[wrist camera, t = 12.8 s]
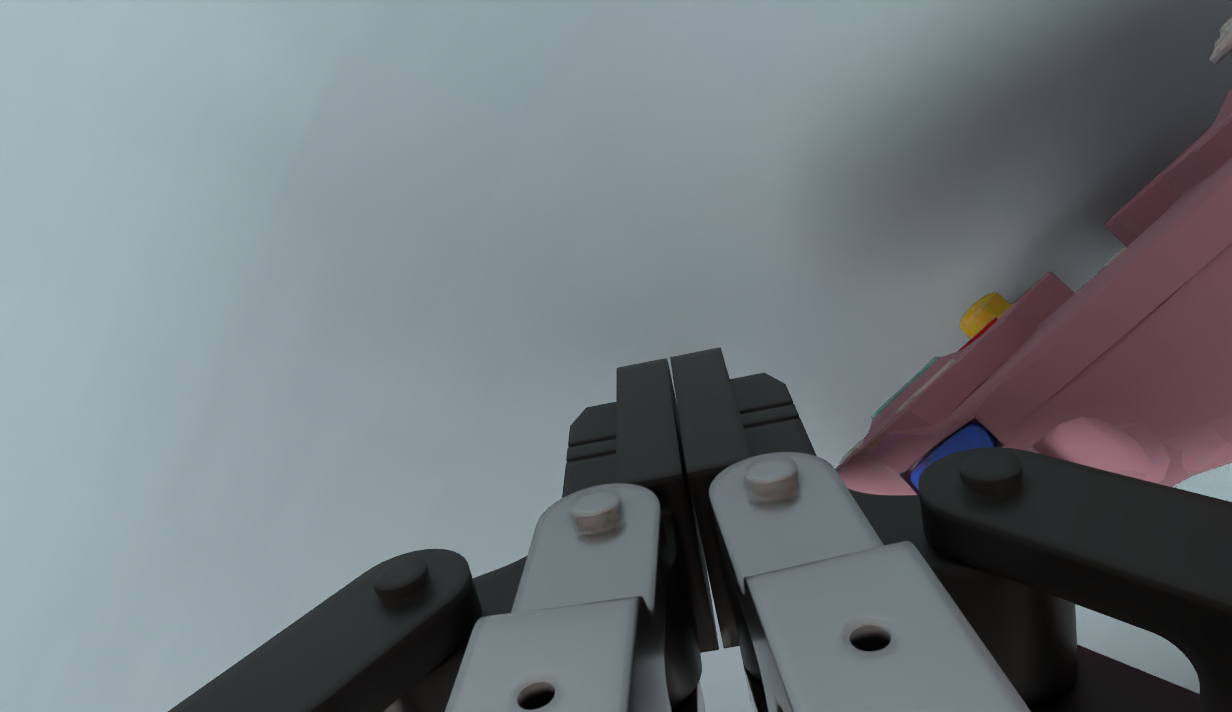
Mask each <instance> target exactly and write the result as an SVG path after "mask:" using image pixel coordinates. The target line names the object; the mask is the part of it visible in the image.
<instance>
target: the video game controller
mask: <svg viewBox="0 0 1232 712" xmlns="http://www.w3.org/2000/svg"><path fill="white" fill-rule="evenodd" d="M1220 34H1221V35H1220V38H1219V39H1218V40H1217V41H1216V42H1215V49H1214V51H1213V53H1212V55H1211V57H1210V59H1209V60H1210V61H1212V62H1213V63H1215V64H1217V63H1218V62H1219V61H1220V60H1222V59H1223V58H1224V57H1225V56H1226V55H1227V54H1228V53H1230V52H1231V51H1232V17H1231V18H1230V19H1229V20H1228V21H1227V22H1226V23H1225V24H1224V25H1223V26H1222V27H1221V29H1220ZM1106 228H1107V229H1108V230H1110V231H1111V232H1112V233H1113V234H1114V235H1115V236H1116V237H1117V238H1118V239H1119V240H1120V241H1122V242H1123V243H1124V244H1125V245H1126V246H1127V247H1124V248H1123V249H1122V250H1121V251H1119V252H1118V253H1117V254H1116V255H1115V256H1113V257H1112V258H1111V259H1110V260H1109V261H1108V262H1107V263H1106V264H1105V265H1104V266H1103V269H1102V270H1101V271H1100V272H1099V273H1097V274H1096V275H1095V276H1094V277H1093V278H1092V279H1091V280H1090V281H1089V282H1087V283H1086V284H1085V285H1084V286H1083V287H1082V288H1081V289H1080V290H1078V291H1077V292H1076V293H1074V292H1073V291H1072V290H1071V289H1070V288H1069V287H1068V286H1067V285H1066V284H1064V283H1063V282H1062V281H1061V280H1060V279H1059V278H1058V277H1057V276H1056V275H1055V274H1053V273H1052V272H1049V273H1047V274H1046V275H1045V276H1044V277H1042V278H1041V279H1040V280H1039V281H1038V282H1037V283H1036V284H1034V285H1033V286H1032V287H1031V288H1030V289H1029V290H1028V291H1027V292H1025V293H1024V294H1023V295H1022V296H1021V297H1020V298H1019V299H1018V300H1017V301H1015V302H1014V303H1013V304H1011V305H1010V304H1009V303H1008V302H1007V301H1006V300H1005V299H1004V298H1003V297H1002V296H1001V295H999V294H998V293H990V294H988V295H986V296H984V297H982V298H981V299H980V300H978V301H977V302H976V303H974V304H973V305H972V306H971V307H970V308H969V309H968V311H967V312H966V313H965V314H964V316H963V317H962V320H961V322H960V328H961V329H962V330H963V331H964V332H965V333H966V334H967V335H968V336H969V337H970V338H971V340H970V341H969V342H967V343H966V344H965V345H964V346H963V347H962V348H961V349H960V350H959V351H958V352H955V353H952V354H950V355H947V356H944V357H941V358H940V357H935V358H934V359H933V360H932V361H931V362H929V363H928V364H927V365H926V366H925V367H924V368H923V369H922V370H921V371H920V372H919V373H917V374H916V375H915V376H914V377H913V378H912V379H911V380H910V381H909V382H908V383H907V384H906V385H904V386H903V387H902V388H901V389H900V390H899V391H898V392H897V393H896V394H895V395H894V396H893V397H891V398H890V399H889V400H888V401H887V402H886V403H885V404H884V405H883V406H882V407H881V408H879V409H878V410H877V411H876V412H875V413H874V414H873V416H872V420H873V421H872V424H871V427H870V430H869V433H868V434H867V435H866V437H865V438H864V439H863V440H861V441H860V442H859V443H858V444H856V445H855V446H854V447H853V448H852V449H851V450H850V451H849V452H848V453H847V454H846V455H844V457H843V458H842V460H841V461H840V462H839V464H840V465H839V466H838V467H837V468H836V469H835V470H836V471H837V473H838V474H839V476H840V477H841V479H842V481H843V482H844V484H845V485H846V487H847V488H848V489H851V490H854V491H858V492H863V493H868V494H876V495H919V487H918V484H919V478H920V475H921V474H922V472H923V471H924V470H925V469H926V468H927V467H928V466H929V465H930V464H932V463H933V462H935V461H936V460H938V459H940V458H942V457H945V456H947V455H950V454H953V453H956V452H960V451H965V450H969V449H977V448H990V447H999V448H1013V449H1020V450H1025V451H1030V452H1034V453H1038V454H1042V455H1046V456H1050V457H1054V458H1058V459H1062V460H1066V461H1070V462H1074V463H1078V464H1082V465H1086V466H1090V467H1094V468H1097V469H1101V470H1105V471H1109V472H1113V473H1117V474H1121V475H1125V476H1129V477H1133V478H1137V479H1141V480H1145V481H1149V482H1153V483H1157V484H1161V485H1165V486H1169V487H1172V486H1174V485H1176V484H1178V483H1180V482H1181V481H1183V480H1185V479H1187V478H1189V477H1190V476H1193V475H1196V474H1199V473H1202V472H1205V471H1208V470H1211V469H1214V468H1217V467H1220V466H1223V465H1226V464H1229V463H1232V89H1231V90H1230V91H1229V92H1228V93H1227V94H1226V98H1225V100H1224V102H1223V104H1222V106H1221V108H1220V111H1219V113H1218V115H1217V117H1216V119H1215V121H1214V123H1213V125H1212V126H1211V127H1210V128H1209V129H1208V130H1207V131H1205V132H1204V133H1203V134H1202V135H1201V136H1200V137H1199V138H1198V139H1197V140H1196V141H1194V142H1193V143H1192V144H1191V145H1190V146H1189V147H1188V148H1187V149H1186V150H1185V151H1183V152H1182V153H1181V154H1180V155H1179V156H1178V157H1177V158H1176V159H1175V160H1174V161H1172V162H1171V163H1170V164H1169V165H1168V166H1167V167H1166V168H1165V169H1164V170H1163V171H1161V172H1160V173H1159V174H1158V175H1157V176H1156V177H1155V178H1154V179H1153V180H1152V181H1150V182H1149V183H1148V184H1147V185H1146V186H1145V187H1144V188H1143V189H1142V190H1141V191H1139V192H1138V193H1137V194H1136V195H1135V196H1134V197H1133V198H1132V199H1131V200H1130V201H1128V202H1127V203H1126V204H1125V205H1124V206H1123V207H1122V208H1121V209H1120V210H1119V211H1118V212H1117V213H1116V214H1115V215H1114V216H1113V217H1112V218H1111V219H1110V220H1108V221H1107V223H1106Z"/></svg>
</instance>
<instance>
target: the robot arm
mask: <svg viewBox="0 0 1232 712" xmlns="http://www.w3.org/2000/svg"><path fill="white" fill-rule="evenodd" d="M670 359H671V366H672V373H673V380H674V387H675V393H674V388H673V384H672V379H671V374H670V369H669V365H668V361H667V358H665V359H660V360H655V361H650V362H645V363H640V364H634V365H629V366H624V367H619V368H617V402H613V403H608V404H602V405H597V406H592V407H587V408H586V409H585V410H584V411H583V412H582V413H581V414H580V416H579V417H578V418H577V419H576V420H575V421H574V422H573V424H572V425H571V426H570V432H569V441H568V446H569V448H568V450H567V463H566V468H565V477H564V486H563V495H562V499H560V500H559V501H557V502H555V503H554V504H553V505H552V506H550V507H549V508H548V509H547V510H546V511H545V512H544V513H543V514H542V516H541V517H540V518H539V520H538V522H537V525H536V528H535V532H534V535H533V539H532V542H531V546H530V549H529V552H528V556H526V557H524V558H522V559H520V560H518V561H516V562H514V563H512V564H510V565H507V566H505V567H502V568H500V569H497V570H494V571H492V572H489V573H486V574H484V575H481V576H479V577H476V578H472V575H471V572H470V569H469V565H468V562H467V561H466V560H465V558H464V557H463V556H461V555H460V554H458V553H456V552H453V551H449V550H445V549H425V550H419V551H414V552H410V553H406V554H402V555H399V556H396V557H394V558H391V559H389V560H387V561H384V562H382V563H380V564H378V565H376V566H375V567H373V568H371V569H370V570H368V571H367V572H365V573H363V574H362V575H361V576H359V577H358V578H356V579H355V580H354V581H352V582H351V583H349V584H348V585H346V586H345V587H344V588H342V589H341V590H339V591H338V592H337V593H335V594H334V595H332V596H331V597H329V598H328V599H327V600H325V601H324V602H322V603H321V604H320V605H318V606H317V607H315V608H314V609H313V610H311V611H310V612H308V613H307V614H305V615H304V616H303V617H301V618H300V619H298V620H297V621H296V622H294V623H293V624H291V625H290V626H288V627H287V628H286V629H284V630H283V631H281V632H280V633H279V634H277V635H276V636H274V637H273V638H271V639H270V640H269V641H267V642H266V643H264V644H263V645H262V646H260V647H259V648H257V649H256V650H254V651H253V652H252V653H250V654H249V655H247V656H246V657H245V658H243V659H242V660H240V661H239V662H237V663H236V664H235V665H233V666H232V667H230V668H229V669H228V670H226V671H225V672H223V673H222V674H221V675H219V676H218V677H216V678H215V679H213V680H212V681H211V682H209V683H208V684H206V685H205V686H204V687H202V688H201V689H199V690H198V691H196V692H195V693H194V694H192V695H191V696H189V697H188V698H187V699H185V700H184V701H182V702H181V703H179V704H178V705H177V706H175V707H174V708H172V709H171V710H170V711H168V712H705V706H704V699H703V695H702V691H701V686H700V682H699V680H700V677H701V673H702V664H701V656H700V653H702V652H708V651H713V650H719V645H718V639H717V633H716V626H715V620H714V613H713V607H712V600H711V594H710V587H709V581H708V575H709V580H710V585H711V589H712V594H713V599H714V604H715V608H716V613H717V618H718V623H719V627H720V632H721V637H722V642H723V647H724V648H729V647H735V646H740V650H741V655H742V659H743V664H744V669H745V674H746V679H747V684H748V689H749V694H750V699H751V703H752V706H753V709H754V712H1232V502H1228V501H1224V500H1221V499H1217V498H1213V497H1209V496H1205V495H1201V494H1197V493H1193V492H1189V491H1185V490H1181V489H1177V488H1173V487H1169V486H1165V485H1161V484H1157V483H1153V482H1149V481H1145V480H1141V479H1137V478H1133V477H1129V476H1125V475H1121V474H1117V473H1113V472H1109V471H1105V470H1101V469H1097V468H1094V467H1090V466H1086V465H1082V464H1078V463H1074V462H1070V461H1066V460H1062V459H1058V458H1054V457H1050V456H1046V455H1042V454H1038V453H1034V452H1030V451H1025V450H1020V449H1013V448H999V447H990V448H977V449H969V450H965V451H960V452H956V453H953V454H950V455H947V456H945V457H942V458H940V459H938V460H936V461H935V462H933V463H932V464H930V465H929V466H928V467H927V468H926V469H925V470H924V471H923V472H922V474H921V475H920V478H919V484H918V487H919V495H876V494H868V493H863V492H858V491H854V490H851V489H848V488H847V487H846V485H845V484H844V482H843V481H842V479H841V477H840V476H839V474H838V473H837V471H836V470H835V468H834V467H833V466H832V465H831V464H830V463H828V462H827V461H826V460H824V459H821V458H819V457H817V456H816V454H815V451H814V449H813V447H812V444H811V442H810V440H809V437H808V435H807V433H806V431H805V428H804V426H803V424H802V421H801V419H800V418H799V414H798V412H797V410H796V407H795V405H794V404H793V401H792V398H791V396H790V394H789V391H788V389H787V387H786V384H784V383H782V382H780V381H778V380H777V379H775V378H773V377H771V376H769V375H767V374H766V373H760V374H755V375H750V376H745V377H740V378H735V379H729V375H728V372H727V368H726V365H725V362H724V358H723V355H722V351H721V348H715V349H710V350H705V351H700V352H695V353H689V354H684V355H679V356H674V357H670ZM675 394H676V398H675ZM676 400H677V403H676ZM677 407H678V408H677ZM706 565H707V568H706ZM707 570H708V574H707ZM1075 604H1077V605H1080V606H1083V607H1085V608H1088V609H1091V610H1093V611H1096V612H1099V613H1101V614H1104V615H1107V616H1110V617H1112V618H1115V619H1118V620H1120V621H1123V622H1126V623H1128V624H1131V625H1134V626H1136V627H1139V628H1142V629H1145V630H1147V631H1150V632H1153V633H1155V634H1157V635H1159V636H1161V637H1163V638H1165V639H1166V640H1168V641H1169V642H1171V643H1172V644H1174V645H1175V646H1176V647H1177V648H1178V649H1180V650H1181V651H1182V652H1183V653H1184V654H1185V656H1186V657H1187V658H1188V659H1189V660H1190V662H1191V663H1192V665H1193V666H1194V668H1195V670H1196V672H1197V675H1198V678H1199V682H1200V694H1198V693H1195V692H1193V691H1190V690H1188V689H1186V688H1183V687H1181V686H1178V685H1176V684H1173V683H1171V682H1168V681H1166V680H1163V679H1161V678H1158V677H1156V676H1153V675H1151V674H1148V673H1146V672H1143V671H1141V670H1139V669H1136V668H1134V667H1131V666H1129V665H1126V664H1124V663H1121V662H1119V661H1116V660H1114V659H1111V658H1109V657H1106V656H1104V655H1101V654H1099V653H1096V652H1094V651H1092V650H1089V649H1087V648H1084V647H1082V646H1079V645H1077V635H1076V615H1075Z"/></svg>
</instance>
